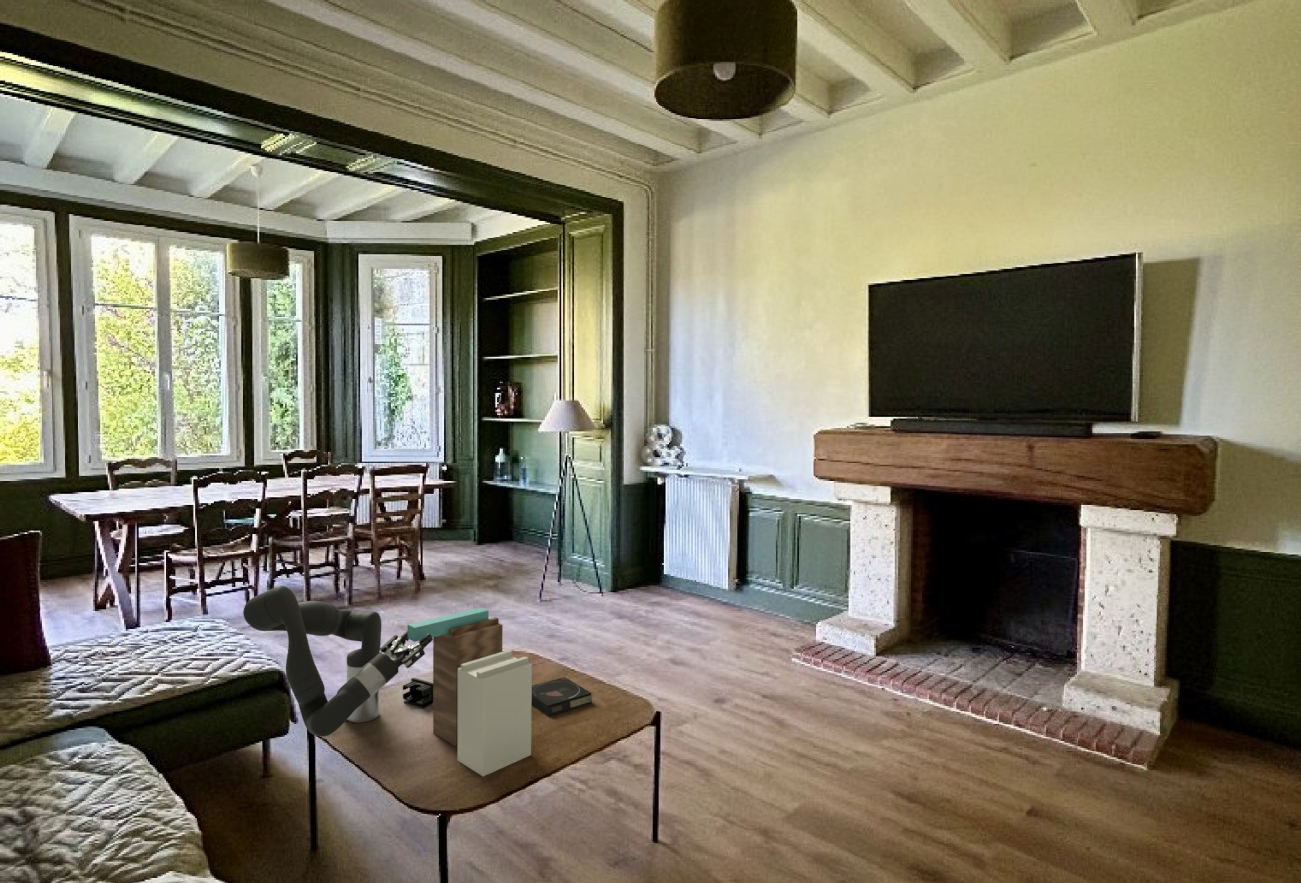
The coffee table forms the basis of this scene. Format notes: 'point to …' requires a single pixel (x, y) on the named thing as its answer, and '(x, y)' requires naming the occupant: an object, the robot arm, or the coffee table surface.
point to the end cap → (418, 693)
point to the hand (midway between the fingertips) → (423, 632)
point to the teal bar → (445, 623)
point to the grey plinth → (494, 712)
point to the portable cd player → (559, 696)
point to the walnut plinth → (446, 661)
